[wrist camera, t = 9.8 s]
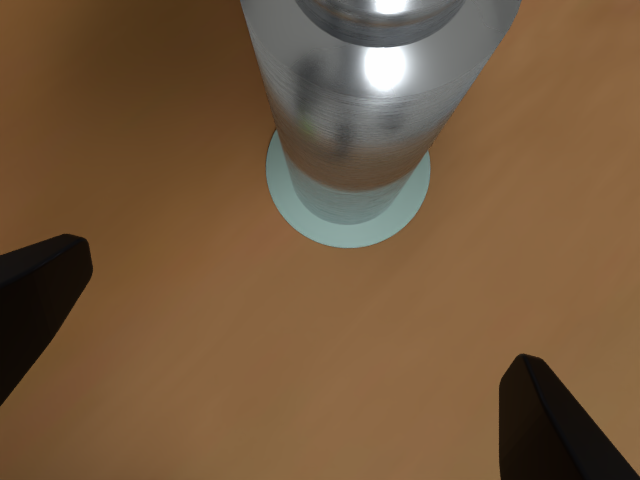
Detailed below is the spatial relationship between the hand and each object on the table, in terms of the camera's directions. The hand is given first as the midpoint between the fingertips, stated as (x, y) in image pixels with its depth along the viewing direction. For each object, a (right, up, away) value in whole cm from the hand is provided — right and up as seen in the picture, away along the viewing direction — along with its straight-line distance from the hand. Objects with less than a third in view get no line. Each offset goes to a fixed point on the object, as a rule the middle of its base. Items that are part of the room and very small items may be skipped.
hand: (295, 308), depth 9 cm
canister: (+2, +5, +12) cm, 13 cm away
